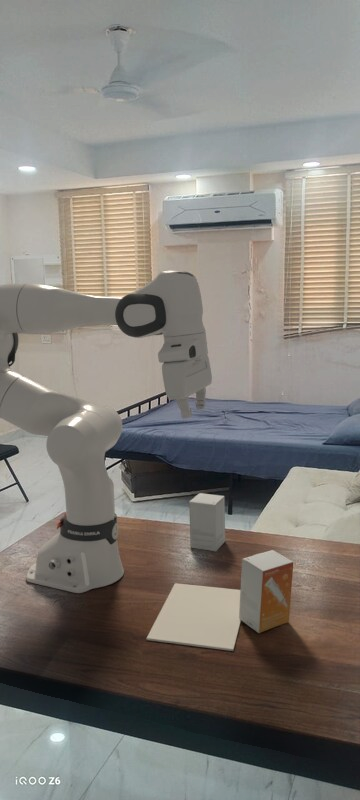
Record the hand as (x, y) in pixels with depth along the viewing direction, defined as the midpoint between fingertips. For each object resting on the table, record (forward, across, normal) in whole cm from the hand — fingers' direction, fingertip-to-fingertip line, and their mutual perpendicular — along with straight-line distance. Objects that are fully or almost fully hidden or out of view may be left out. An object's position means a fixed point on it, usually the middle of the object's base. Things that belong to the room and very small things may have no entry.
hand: (194, 413), depth 125 cm
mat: (+40, +12, 0) cm, 41 cm away
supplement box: (+39, -21, -8) cm, 45 cm away
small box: (+41, +11, +13) cm, 44 cm away
